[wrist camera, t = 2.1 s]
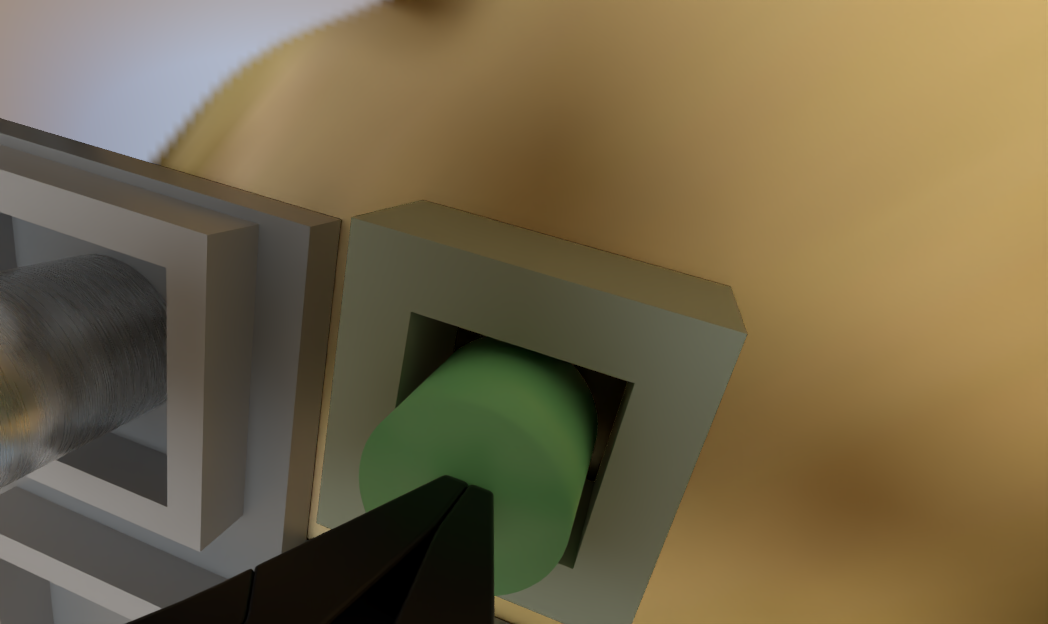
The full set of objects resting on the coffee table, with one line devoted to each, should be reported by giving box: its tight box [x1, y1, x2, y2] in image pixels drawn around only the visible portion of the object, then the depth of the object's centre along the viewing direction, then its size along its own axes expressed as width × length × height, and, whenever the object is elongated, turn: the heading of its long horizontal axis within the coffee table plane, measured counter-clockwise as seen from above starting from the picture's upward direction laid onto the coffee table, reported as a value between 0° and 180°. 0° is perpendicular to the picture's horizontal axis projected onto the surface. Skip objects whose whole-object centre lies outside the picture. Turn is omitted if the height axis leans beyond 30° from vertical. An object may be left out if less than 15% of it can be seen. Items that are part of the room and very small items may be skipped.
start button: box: [359, 336, 598, 596], centre depth 10 cm, size 4×4×3 cm
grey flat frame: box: [0, 118, 341, 624], centre depth 17 cm, size 11×20×3 cm, turn 167°
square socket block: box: [316, 200, 747, 624], centre depth 12 cm, size 7×7×3 cm
